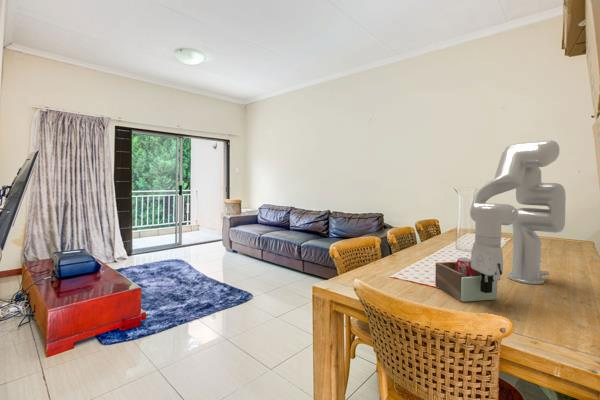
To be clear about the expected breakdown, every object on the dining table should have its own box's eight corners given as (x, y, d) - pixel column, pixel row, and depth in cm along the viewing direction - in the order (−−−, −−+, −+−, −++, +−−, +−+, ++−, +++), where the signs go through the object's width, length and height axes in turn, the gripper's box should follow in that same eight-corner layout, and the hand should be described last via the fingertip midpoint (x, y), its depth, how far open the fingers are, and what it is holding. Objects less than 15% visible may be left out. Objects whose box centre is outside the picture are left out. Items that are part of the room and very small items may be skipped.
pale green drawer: (468, 284, 118) (468, 264, 118) (496, 299, 103) (497, 276, 103) (437, 286, 117) (438, 266, 116) (462, 301, 102) (463, 278, 101)
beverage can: (476, 292, 107) (477, 262, 106) (458, 291, 108) (459, 261, 108) (469, 286, 113) (470, 257, 113) (453, 286, 115) (453, 257, 114)
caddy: (466, 284, 120) (466, 261, 119) (494, 298, 105) (495, 272, 104) (435, 286, 118) (435, 262, 117) (459, 301, 103) (460, 274, 102)
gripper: (463, 237, 105) (461, 284, 106) (494, 246, 90) (493, 301, 92) (481, 236, 106) (480, 283, 107) (516, 245, 91) (514, 300, 92)
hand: (486, 291), depth 99 cm, fingers closed
